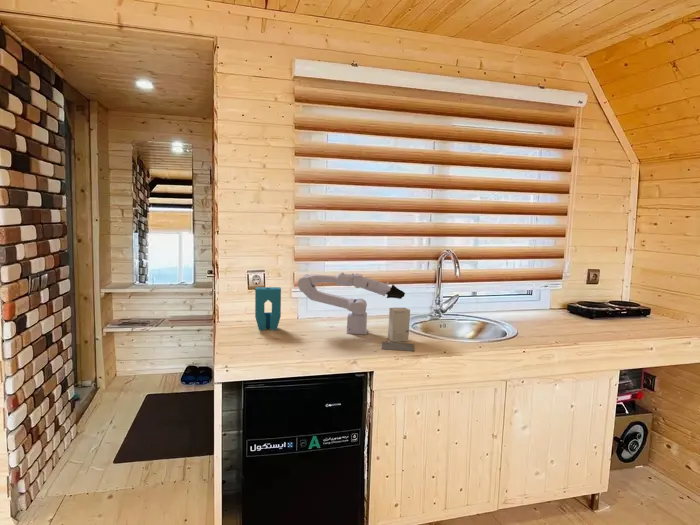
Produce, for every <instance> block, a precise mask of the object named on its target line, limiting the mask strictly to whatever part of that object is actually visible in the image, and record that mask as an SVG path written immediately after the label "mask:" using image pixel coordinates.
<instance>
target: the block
mask: <svg viewBox="0 0 700 525" xmlns="http://www.w3.org/2000/svg"><path fill="white" fill-rule="evenodd" d="M254 292H255V296H254V297H255V299H254V301H255V306H254V308H255V309H254V310H255V311H254V312H255V314H254V319H255V320H256V321H255V322H256V324H257V329H258V330H259V331H266V330H267V329H269V331H277V330H278V327H279V323H280V320H281V314H282V313H281V312H282V311H281V308H282V307H281V306H282V301H281V300H282V288H281V287H279V286H278V287H273V286H269V287H268V286H267V287H266V286H262V287H261V286H259V287H258V286H256V287H255V291H254ZM267 301H269V302H270V303H271V312H265V304H266V303H267Z"/></svg>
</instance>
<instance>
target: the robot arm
mask: <svg viewBox="0 0 700 525" xmlns="http://www.w3.org/2000/svg"><path fill="white" fill-rule="evenodd" d="M320 283H329V284H336V285H337V286H340V287H341V286H342V287H352V286H353V287H354V288H356V289H359V288H361V289H363V290H366V291H369V292H372V293H375V294H378V295H381V296H383V297H385V296H386V299H399V300H401V299H403V298H404V297H405V295H406V292H404V291H403V290H402V289H399V288H398V287H396V285H395V284H392V285H391V286H390V285H389V284H390V282H389V281H386V283H385V282H383V281H382V282H381V281H378V280H376V279H373V278H370V277H366V276H363V275H362V274H360V273H351V274H350V273H349V274H348V273H345V272H340V273H338V274H336V275H329V274H328V275H325V274H317V273H316V274H314V273H312V274H304V275H303V276H301V277H300V278H299V279H298V280H297V287H298V289H299V291H300V292H301V293H303V294H304V295H305V296H306V297H307V298H308V299H309V300H310V301H313V302H316V303H317V302H319V303H323V304H326V305H330V306H334V307H338V308H343V309H345V310H347V311H349V312H351V313H347V320H346V334H351V335H353V334H354V335H367V334H368V330H369V329H368V328H367V327H368V326H367V323H368V313H367V311H366V310H367V306H368V303H367V301H366V300H365V299H363V298H348V297H344V296H339V295H335V294H331V293H326V292H323V291H319V290H318V289H317V287H316V285H317V284H320Z"/></svg>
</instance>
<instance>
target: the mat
mask: <svg viewBox="0 0 700 525" xmlns="http://www.w3.org/2000/svg"><path fill="white" fill-rule="evenodd" d="M381 350H387V351H389V350H390V351H403V352H415V343H408V342H391V341H382V344H381Z"/></svg>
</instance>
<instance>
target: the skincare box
mask: <svg viewBox="0 0 700 525" xmlns="http://www.w3.org/2000/svg"><path fill="white" fill-rule="evenodd" d="M388 314H389V315H388V328H387V329H388V330H387V339H388V340H389V342H396V343H403V342H409V334H410V333H409V332H410V322H411V309H409V308H406V307H389V312H388Z"/></svg>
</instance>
